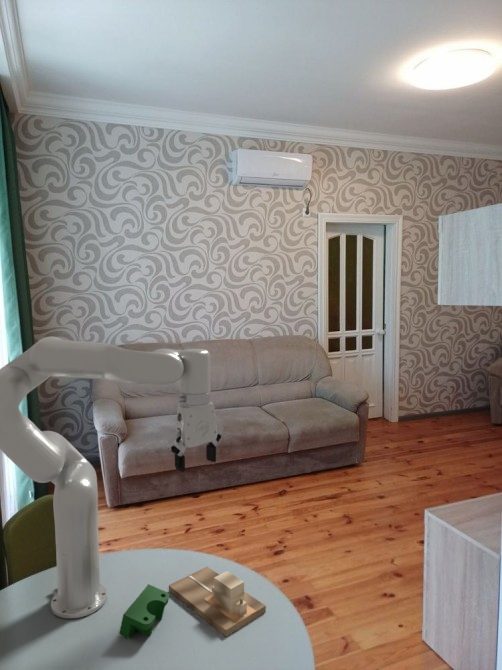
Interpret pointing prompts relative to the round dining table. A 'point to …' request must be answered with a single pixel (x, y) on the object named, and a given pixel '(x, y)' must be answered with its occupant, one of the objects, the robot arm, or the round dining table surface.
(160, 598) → the clamp
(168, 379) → the robot arm
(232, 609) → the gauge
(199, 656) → the round dining table surface
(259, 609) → the board
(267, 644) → the round dining table surface
